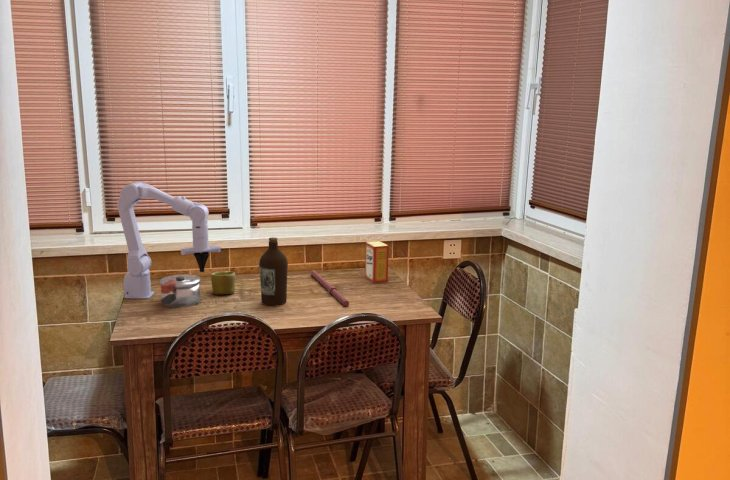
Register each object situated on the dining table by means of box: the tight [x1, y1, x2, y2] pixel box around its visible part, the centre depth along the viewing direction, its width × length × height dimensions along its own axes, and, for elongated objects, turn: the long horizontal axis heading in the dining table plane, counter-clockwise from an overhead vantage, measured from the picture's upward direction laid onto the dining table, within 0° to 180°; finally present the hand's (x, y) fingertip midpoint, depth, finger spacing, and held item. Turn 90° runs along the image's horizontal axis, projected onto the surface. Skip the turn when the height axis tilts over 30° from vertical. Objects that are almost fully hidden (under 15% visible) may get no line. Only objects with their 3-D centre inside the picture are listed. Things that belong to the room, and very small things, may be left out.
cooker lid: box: [159, 273, 201, 294], centre depth 239 cm, size 21×15×3 cm
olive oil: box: [258, 236, 289, 307], centre depth 242 cm, size 11×11×25 cm
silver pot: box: [161, 282, 201, 308], centre depth 240 cm, size 20×14×7 cm
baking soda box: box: [364, 240, 389, 284], centre depth 276 cm, size 10×6×16 cm
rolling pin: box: [310, 269, 350, 307], centre depth 261 cm, size 45×3×3 cm, turn 21°
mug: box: [210, 270, 236, 296], centre depth 256 cm, size 12×10×10 cm
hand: (201, 271), depth 247 cm, fingers closed
